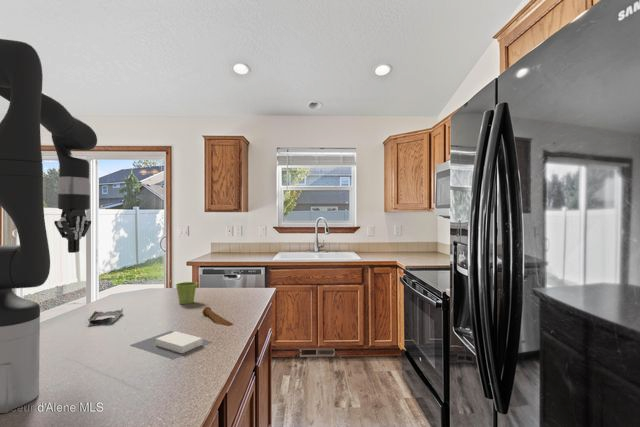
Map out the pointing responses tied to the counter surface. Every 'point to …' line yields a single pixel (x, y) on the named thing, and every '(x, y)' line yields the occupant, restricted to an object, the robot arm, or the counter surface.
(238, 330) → the counter surface
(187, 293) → the plant pot
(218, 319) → the primitive tool
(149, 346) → the rubber mat
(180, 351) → the cream white block
